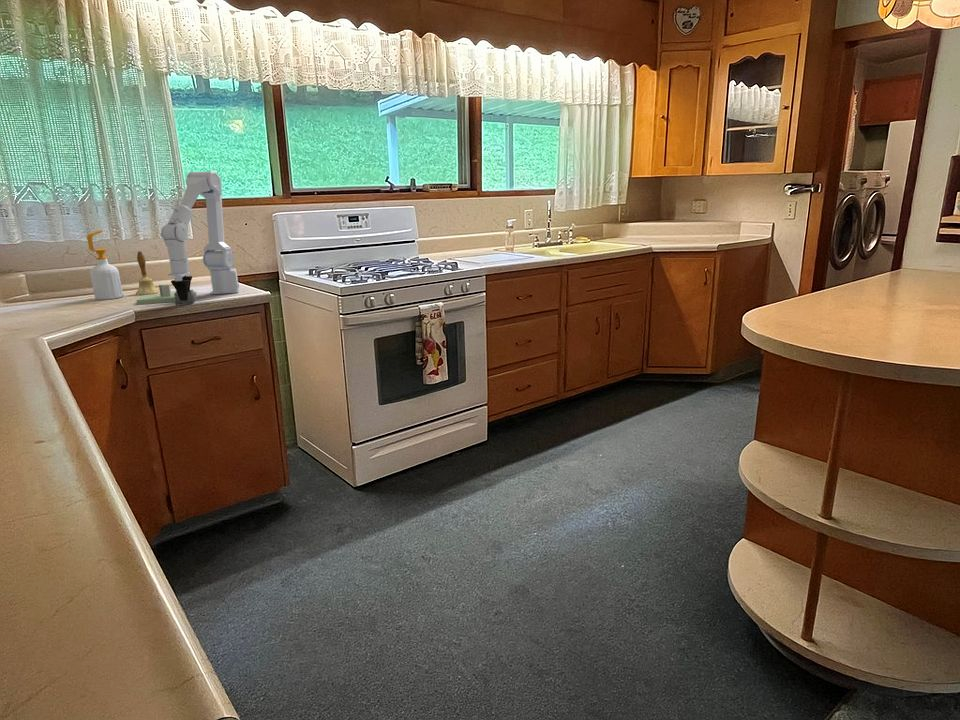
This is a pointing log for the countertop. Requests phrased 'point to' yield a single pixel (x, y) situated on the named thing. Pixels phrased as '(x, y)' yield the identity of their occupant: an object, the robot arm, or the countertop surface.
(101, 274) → the soap bottle
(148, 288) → the hand bell
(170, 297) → the post board
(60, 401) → the countertop surface
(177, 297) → the collar
